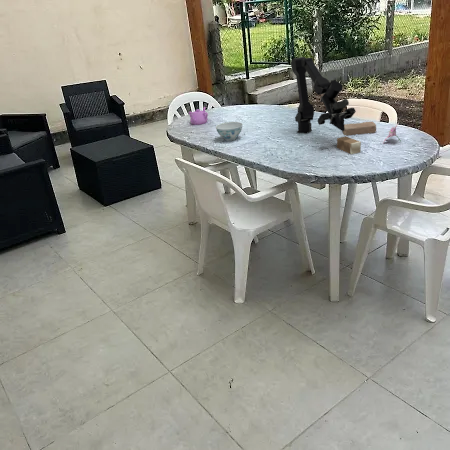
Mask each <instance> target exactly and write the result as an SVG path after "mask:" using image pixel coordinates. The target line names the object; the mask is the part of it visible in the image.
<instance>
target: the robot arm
mask: <svg viewBox="0 0 450 450" xmlns="http://www.w3.org/2000/svg"><path fill="white" fill-rule="evenodd" d="M290 67H291V70H292V73H293V74H294V75H295V77H296V85H297V91H298V100H299V105H298V107H297V113H296V116H294V120H295V122H297V131H296V133H299V134H308V133H309V132H311V131H313V129H312V123H311V121H313V120H314V118H315V117H314V116H315V111H314V109H315V108H314V104H313V103H311V102H310V99H309V92H308V86H307V85H308V84H307V78H306V73H307V74H308V75H309V77H310V79H311V80H312V82H313V88H314V92H315V94H316V95H319V96H320V95H322V96H321V97H320V103H323V104H324V107H325V109H324V110H325V112H326V113H321V114H320V116H319V117H318V118H317V123H318V125H319V126H321V125H324V124H325V123H326V121H330V122H329V124H330V125H333V126H334V127H336V129H339V130H340V131H341V132H342V131H344V130H345V128H344V124H345V120H348V119H352V117H353V116H354V115H355V113H356V112H357V111H356V109H355V107H349V108H347V106H348V105H349V104H350V103H349V100H348V99H347V98H344V99H342V100H340V101H337V100H336V98H337V97H338V96H339V94H340V93H341V92H342V91H343V88H344V87H343V85H342V84H341V83H340V82H339V81H336V79H332V80H331V81H329V80H328V79H327V78H326V77H323V76H322V74H321V73H320V71H319V69H318V67H317V66H316V64H315V63H314V60H313V58H312V57H305V56H301V57H300V56H299V57H295V58H292V60H291V61H290ZM344 109H345V110H344Z"/></svg>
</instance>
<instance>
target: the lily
mask: <svg viewBox="0 0 450 450" xmlns="http://www.w3.org/2000/svg"><path fill="white" fill-rule="evenodd" d="M399 123H400V122H397V123H396V125H395V126H392V127H391V128H390V130H388V135H387V136H386V138H385V139H384V140H383V142H382V144H384V143H385V141H386V140H387V139H389V138H392V137H397V138H398V140H399V142H401V139H400V138H399V136H398V135H397V127H398V125H399Z"/></svg>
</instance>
